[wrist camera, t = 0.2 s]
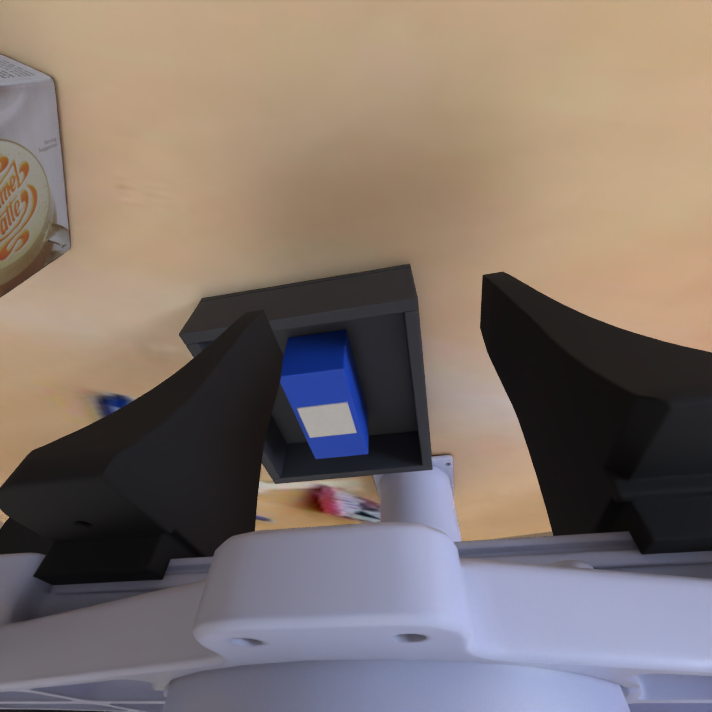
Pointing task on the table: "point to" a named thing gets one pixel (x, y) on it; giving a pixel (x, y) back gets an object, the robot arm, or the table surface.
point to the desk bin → (372, 359)
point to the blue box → (326, 394)
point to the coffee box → (29, 175)
